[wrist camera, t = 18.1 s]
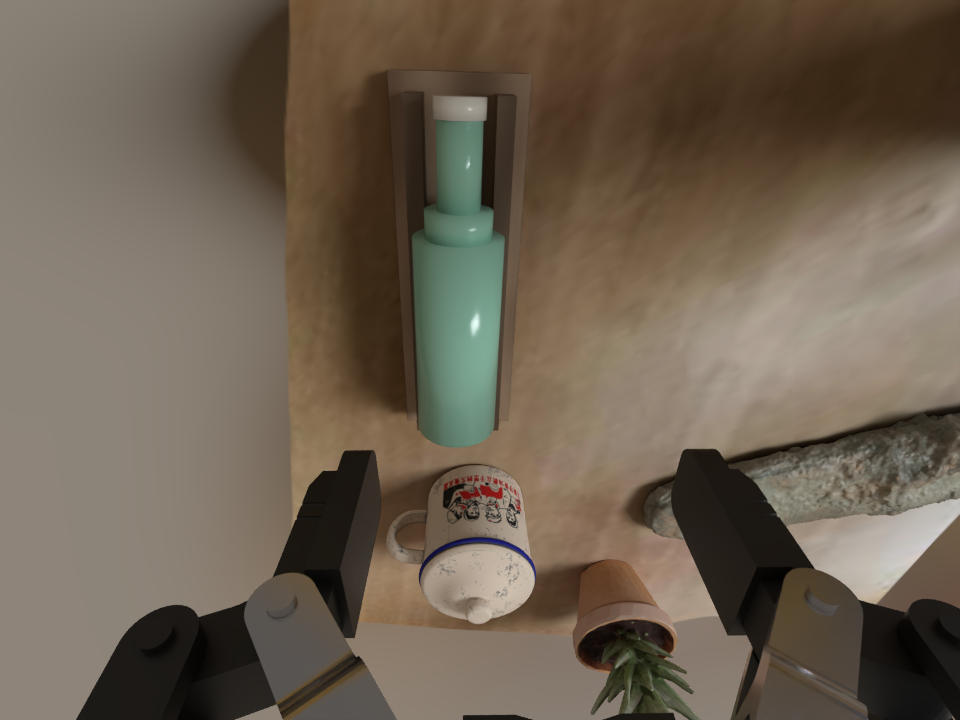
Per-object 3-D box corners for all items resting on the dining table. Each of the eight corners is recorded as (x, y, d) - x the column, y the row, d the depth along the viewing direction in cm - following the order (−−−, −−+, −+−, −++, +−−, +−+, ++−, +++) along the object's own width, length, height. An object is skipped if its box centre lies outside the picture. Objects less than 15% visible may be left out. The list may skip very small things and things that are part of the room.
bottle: (414, 445, 32) (398, 96, 22) (423, 400, 37) (414, 92, 27) (494, 449, 32) (514, 100, 22) (494, 403, 37) (511, 96, 27)
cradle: (528, 73, 29) (537, 74, 26) (506, 409, 41) (510, 440, 38) (390, 69, 29) (380, 70, 25) (409, 409, 41) (404, 440, 37)
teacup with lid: (533, 466, 44) (554, 582, 34) (513, 535, 49) (527, 656, 39) (398, 451, 43) (378, 568, 33) (390, 524, 48) (371, 646, 38)
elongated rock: (630, 456, 46) (641, 523, 52) (645, 502, 42) (656, 569, 47) (1065, 373, 41) (1027, 458, 46) (1135, 416, 36) (1084, 504, 42)
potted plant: (552, 603, 54) (609, 945, 33) (575, 544, 50) (658, 900, 29) (639, 609, 56) (748, 946, 34) (669, 553, 51) (818, 902, 30)
